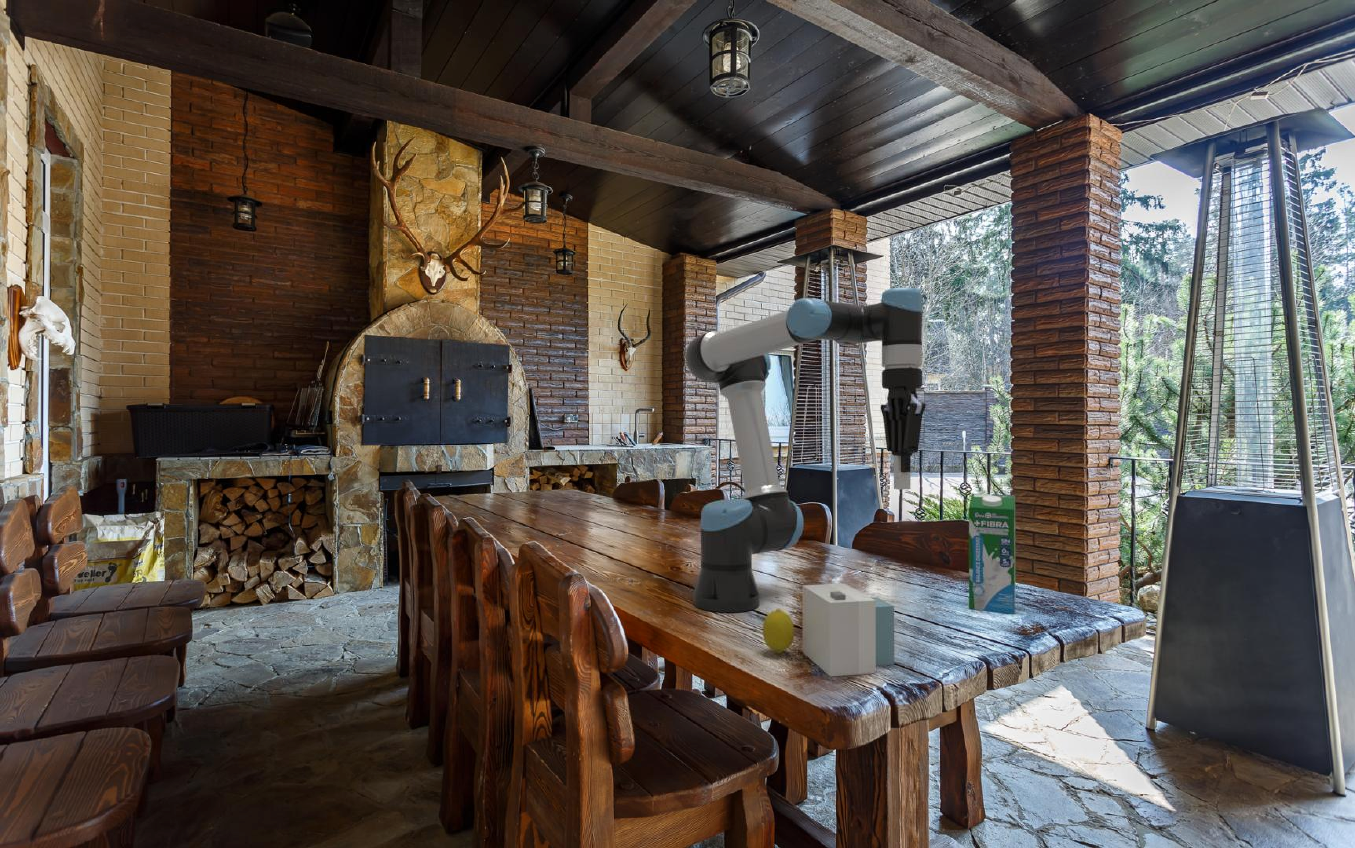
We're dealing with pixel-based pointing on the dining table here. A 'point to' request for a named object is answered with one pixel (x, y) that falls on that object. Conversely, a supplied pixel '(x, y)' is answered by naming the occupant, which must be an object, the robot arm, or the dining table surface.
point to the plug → (884, 632)
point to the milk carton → (992, 553)
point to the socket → (839, 629)
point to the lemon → (778, 631)
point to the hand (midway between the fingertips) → (902, 488)
